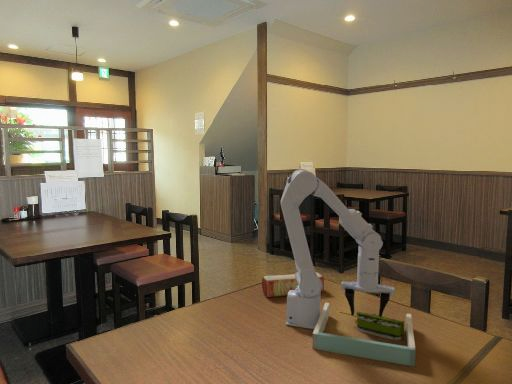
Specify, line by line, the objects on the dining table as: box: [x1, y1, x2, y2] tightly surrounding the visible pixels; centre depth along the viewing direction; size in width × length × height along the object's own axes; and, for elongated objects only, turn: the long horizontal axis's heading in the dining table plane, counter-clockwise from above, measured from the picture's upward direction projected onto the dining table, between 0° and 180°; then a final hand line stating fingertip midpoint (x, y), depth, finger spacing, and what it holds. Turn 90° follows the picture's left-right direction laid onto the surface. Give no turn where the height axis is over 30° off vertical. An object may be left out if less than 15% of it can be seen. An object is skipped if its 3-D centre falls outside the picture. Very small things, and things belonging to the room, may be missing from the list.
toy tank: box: [340, 311, 405, 341], centre depth 104 cm, size 7×19×10 cm
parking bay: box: [311, 302, 416, 367], centre depth 99 cm, size 24×20×4 cm
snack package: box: [261, 272, 325, 298], centre depth 130 cm, size 21×7×7 cm, turn 103°
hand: (366, 315), depth 109 cm, fingers open, 7 cm apart
